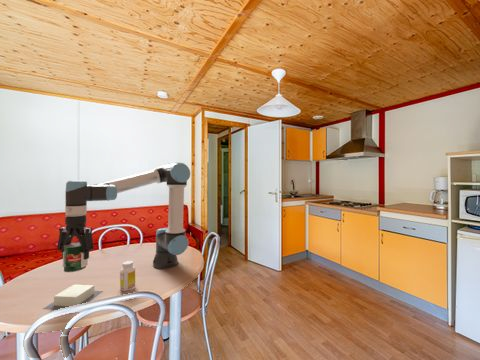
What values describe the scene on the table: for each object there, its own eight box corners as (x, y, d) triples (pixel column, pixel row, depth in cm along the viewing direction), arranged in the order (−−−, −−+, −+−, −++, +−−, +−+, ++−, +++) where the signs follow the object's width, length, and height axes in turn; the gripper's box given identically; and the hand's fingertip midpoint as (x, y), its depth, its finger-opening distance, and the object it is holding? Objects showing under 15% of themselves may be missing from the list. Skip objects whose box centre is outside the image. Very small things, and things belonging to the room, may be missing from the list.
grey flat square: (103, 292, 100) (103, 291, 100) (76, 311, 85) (76, 310, 85) (73, 290, 101) (73, 289, 101) (42, 309, 86) (42, 308, 86)
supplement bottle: (137, 284, 108) (137, 259, 108) (132, 291, 101) (132, 264, 101) (123, 285, 107) (123, 260, 107) (117, 292, 100) (118, 265, 100)
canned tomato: (79, 264, 98) (79, 240, 98) (90, 266, 95) (90, 242, 95) (59, 270, 91) (59, 245, 91) (70, 273, 88) (71, 247, 88)
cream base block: (94, 293, 98) (94, 285, 98) (76, 306, 88) (76, 297, 88) (74, 292, 98) (74, 284, 98) (53, 305, 88) (54, 296, 88)
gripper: (46, 215, 90) (45, 268, 90) (91, 217, 89) (90, 270, 89) (62, 213, 98) (61, 261, 98) (104, 214, 96) (103, 263, 96)
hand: (75, 265), depth 93 cm, fingers closed on canned tomato, 8 cm apart
